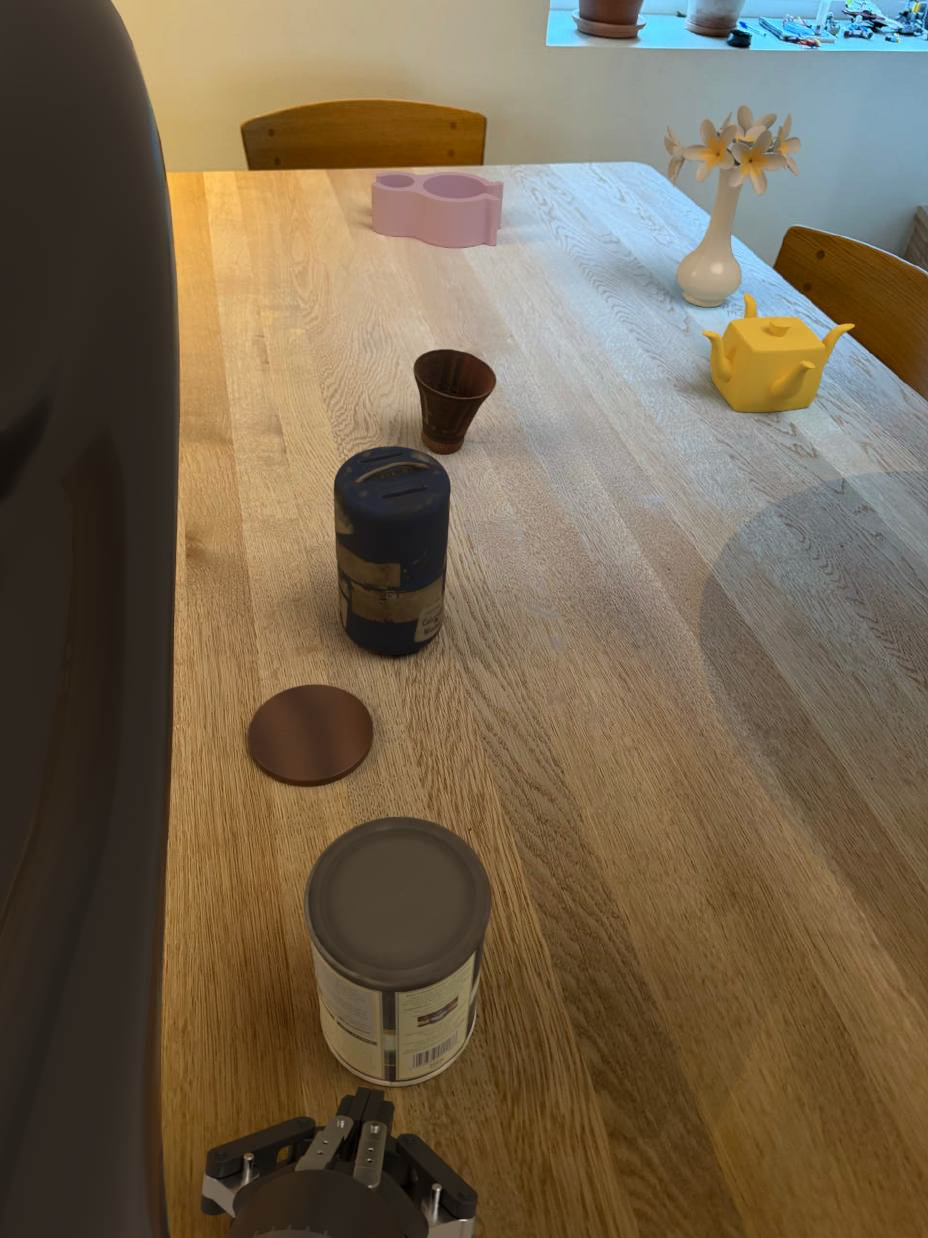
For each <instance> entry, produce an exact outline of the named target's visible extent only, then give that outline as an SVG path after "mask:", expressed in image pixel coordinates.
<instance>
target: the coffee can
mask: <svg viewBox="0 0 928 1238" xmlns="http://www.w3.org/2000/svg"><path fill="white" fill-rule="evenodd" d="M304 888H305V889H304V894H303V914H304V920H305V925H306V928H307V930H308V931H307V932H308V934H309V940H310V947H311V952H312V959H313V966H314V967H313V968H314V973H315V982H316V989H317V996H318V1003H319V1021H320V1026H321V1030H322V1033H323V1037H324V1039H325V1042H326V1044H327V1046H328V1048H329V1050H330V1052H331V1053H332V1054H333V1056H334V1057H335V1058H336V1059H337V1060H338V1062H339V1063H340V1064H341V1065H342V1066H343V1067H344V1068H345V1069H347V1070H348V1071H349V1072H350V1073H351V1074H352V1075H353V1076H356V1077H359V1078H360V1079H362V1080H364V1081H366V1082H368V1083H372V1084H374V1085H377V1086H378V1085H379V1086H382V1087H383V1086H384V1087H408V1086H415V1085H418V1084H420V1083H423V1082H425V1081H426V1082H427V1081H428V1080H431V1079H432V1078H434V1077H436V1076H438V1075H439V1074H441V1073H443V1072H444V1071H445V1070H447V1069H448V1068H449V1067H450V1066H451V1065H452V1064H453V1063H454V1062H455V1061H456V1060H457V1059H458V1058H459V1057H460V1055H462V1053H463V1052H464V1050H465V1049H466V1047H467V1045H468V1043H469V1041H470V1039H471V1037H472V1034H473V1032H474V1028H475V1023H476V1019H477V1009H478V1007H477V1006H478V1004H477V1002H478V994H479V985H480V977H481V968H482V960H483V954H484V946H485V937H486V931H487V929H488V925H489V922H490V916H491V913H492V890H491V884H490V880H489V876H488V874H487V871H486V868H485V866H484V863H483V862H482V860H481V859H480V857H479V855H478V854H477V852H475V850H474V849H473V848H472V846H470V844H468V842H466V840H465V839H464V838H462V837H461V836H460V835H458V834H457V833H455V832H454V831H452V830H450V829H449V828H447V827H446V826H443V825H441V824H438V823H436V822H433V821H431V820H427V819H423V818H419V817H414V816H413V817H412V816H386V817H380V818H376V819H372V820H369V821H366V822H365V821H364V822H363V823H361V824H358V825H355V826H353V827H352V828H349V829H347V830H346V831H344V832H343V833H341V834H340V835H339V836H338V837H336V838H335V839H334V840H333V841H332V842H331V843H329V844H328V845H327V847H326V848H324V850H323V851H322V852H321V853H320V854H319V856H318V858H317V859H316V861H315V862H314V864H313V865H312V867H311V870H310V871H309V874H308V876H307V880H306V883H305V887H304Z"/></svg>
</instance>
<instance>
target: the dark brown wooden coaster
mask: <svg viewBox="0 0 928 1238" xmlns="http://www.w3.org/2000/svg"><path fill="white" fill-rule="evenodd" d="M369 711H370V710H368V707H367V706H366V705H365V703H363V702H362V701H361V700H360V699H359V698H358V697H357V696H355V695H354V694H352V693H351V692H349V691H347V690H346V689H342V688H340V687H337V686H333V685H329V684H328V685H327V684H320V683H319V684H318V683H317V684H316V683H314V684H311V683H310V684H303V685H297V686H294V687H289V688H287V689H285V690H283V691H280V692H278V693H277V694H274V695H272V696H271V697H269V699H268V700H266V701H265V702H263V704H262V705H261V706H260V707H259V708H258V709H257V711H256V712H255V714H254V715H253V717H252V719H251V721H250V724H249V728H248V734H247V735H248V736H247V737H248V747H249V751H250V753H251V757H252V758H253V761H254V762H255V764H256V765H257V767H258V768H259V769H260V770H261V771H262V772H263V773H265V774H266V775H267V776H268V777H271V778H272V779H274V780H276V781H278V782H281V783H283V784H287V785H290V786H296V787H317V786H325V785H328V784H331V783H335V782H337V781H339V780H342V779H343V778H345V777H347V776H348V775H350V774H351V773H353V772H354V771H355V770H356V769H358V767H360V766H361V764H363V762H364V761H365V760H366V758H367V757H368V756H369V754H370V752H371V749H372V746H373V742H374V722H373V719H372V716H371V712H369Z"/></svg>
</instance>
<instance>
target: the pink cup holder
mask: <svg viewBox="0 0 928 1238" xmlns="http://www.w3.org/2000/svg"><path fill="white" fill-rule="evenodd" d="M504 184H505V183H504V182H502V181H499V180H497V181H490V180H488V179H486V178H485V177H482V176H479V175H475V174H471V173H466V172H459V171H441V172H431V173H428V174H427V173H426V174H417V173H411V172H406V171H400V170H399V171H398V170H392V171H391V170H389V171H382V172H378V173H375V181H372V182H371V183H370V193H371V194H370V196H371V197H370V198H371V199H370V200H371V201H370V202H371V229H372V231H374V232H375V233H376V234H377V233H378V234H380V235H384V236H388V237H396V238H397V237H398V238H399V237H409V238H416V239H418V240H420V241H422V242H423V243H426V244H429V245H432V246H437V247H441V248H451V249H452V248H453V249H462V248H463V249H464V248H470V247H475V246H476V247H477V246H480V245H482V244H485V245H488V246H490V247H495V246H496V245H497V243H498V242H497V241H498V240H497V239H498V230H500V229H501V226H502V225H501V223H502V211H503V210H502V209H503V197H504Z"/></svg>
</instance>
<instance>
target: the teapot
mask: <svg viewBox="0 0 928 1238" xmlns="http://www.w3.org/2000/svg"><path fill="white" fill-rule="evenodd" d="M743 300H744V314H743V318H737V319H732V320H730V321H729V322H728V324H727V326H726V328H725V331H724V332H723V334H722V336H721V335H720V334H719V333H718V332H716V331H712V330H701V331H700V334H702V336H705V337H706V338H707V339H708V340H709V342H710V346H711V347H710V359H709V360H710V361H709V362H710V368H711V372H710V373H711V374H710V375H711V380H712V383H713V384H714V386H715V387H716V388H717V390H718V392H719V393H720V394H721V396H722V397H723V398H724V399H725V401H726V402H727V403H728V405H729V406H730V407H731V408H732V410H734V411H735V412H737V413H775V412H786V411H792V410H793V411H795V410H801V409H805V408H809V407H810V406H811V405H812V403H813V401H814V400H815V398H816V396H817V393H818V391H819V387H820V384H821V381H822V380H821V379H822V376H823V372H824V371H823V370H824V367H825V366H826V365H827V363H828V361H829V359H830V357H831V354H832V352H833V350H834V348H835V346H836V344H837V342H838V341H839V339H840V338H841V337H842V336H843V335H844V334H845V333H847V332H849V331H850V330H851V329H854V328H855V327H856V326H855V324H854V323H843V324H839V325H836V326H834V327H833V328H832V329H831V330H829V331H828V333H827V334H826V335H825V336H824V337H823V338H822V340H821V339H820V338H819V337H818V336H817V334H816V333H815V332H814V331H813V330H812V329H811V328H810V327H809V326H808V325H807V324H806V323H805V322H804V321H803V320H802V319H801V318H799V317H798V316H758V307H757V302H756V300H755V298H754V296H752V295H751V294H750V293H744V294H743Z"/></svg>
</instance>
